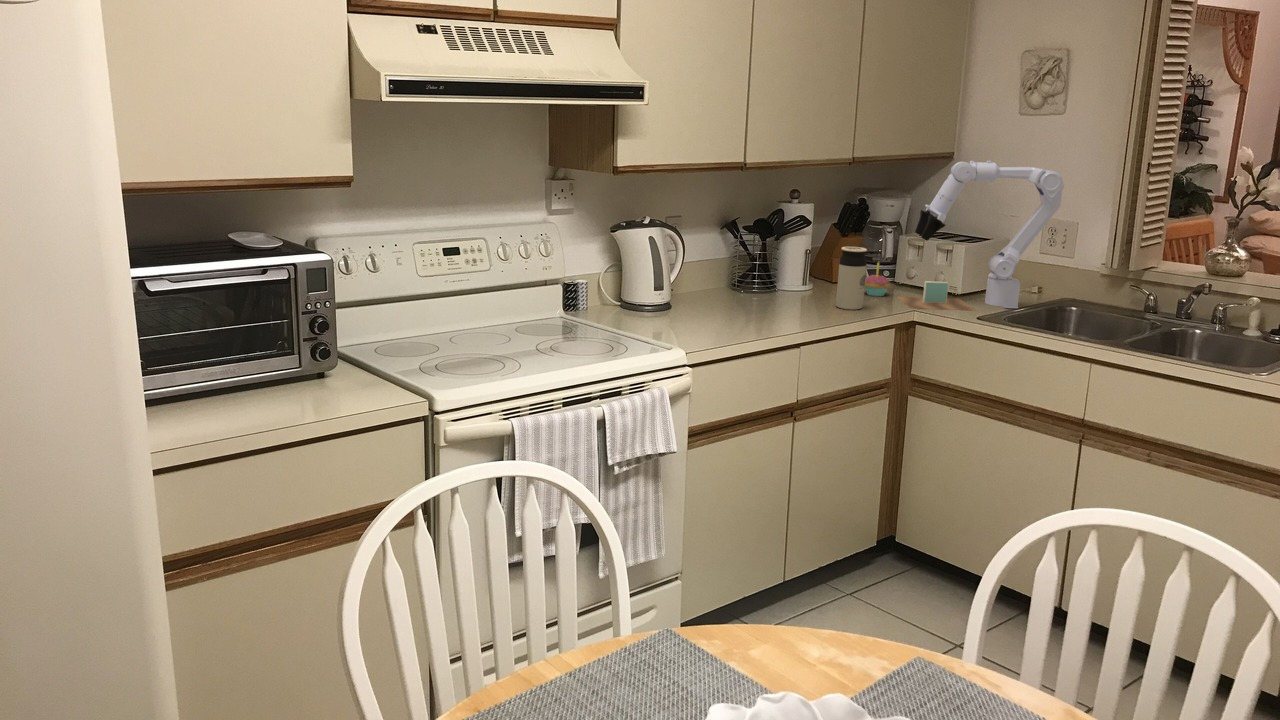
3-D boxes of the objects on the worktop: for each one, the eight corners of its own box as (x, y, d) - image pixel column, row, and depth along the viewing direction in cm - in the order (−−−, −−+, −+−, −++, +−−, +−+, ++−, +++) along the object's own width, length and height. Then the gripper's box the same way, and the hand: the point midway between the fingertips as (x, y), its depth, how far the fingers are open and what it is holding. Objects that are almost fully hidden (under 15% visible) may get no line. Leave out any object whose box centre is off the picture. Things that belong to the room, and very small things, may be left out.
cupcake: (889, 300, 320) (893, 262, 317) (862, 298, 321) (865, 261, 318) (887, 295, 328) (891, 258, 325) (860, 293, 329) (864, 256, 326)
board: (958, 301, 322) (958, 298, 322) (977, 313, 305) (977, 310, 304) (895, 299, 322) (896, 296, 321) (910, 311, 304) (911, 308, 304)
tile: (944, 302, 315) (947, 281, 313) (946, 303, 314) (948, 282, 312) (922, 301, 315) (924, 281, 313) (923, 302, 313) (926, 282, 312)
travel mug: (830, 306, 307) (835, 247, 303) (846, 303, 312) (851, 245, 308) (851, 311, 301) (856, 251, 297) (867, 308, 307) (873, 249, 302)
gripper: (928, 187, 317) (904, 225, 321) (940, 196, 303) (915, 235, 307) (947, 198, 318) (923, 236, 322) (960, 207, 304) (935, 246, 308)
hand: (920, 236), depth 315 cm, fingers open, 7 cm apart
